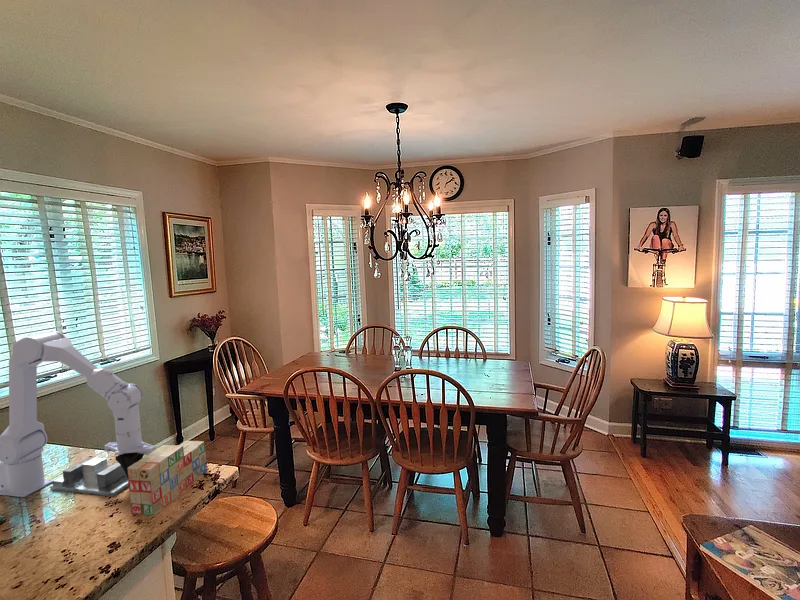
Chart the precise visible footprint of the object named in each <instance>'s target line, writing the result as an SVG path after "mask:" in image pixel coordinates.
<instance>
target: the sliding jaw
mask: <svg viewBox="0 0 800 600" xmlns="http://www.w3.org/2000/svg"><path fill="white" fill-rule="evenodd" d="M124 475H126V474H125V471H124V469H123V468H122V466H121V465H120V464H119V462H118V461H116V462H115V463H114V464H112V465H110V466H108V468H106V469H105V470H103V471H101V472H99V473H98V474H97V483H98V486H99V487H107V486H108V485H110V484H112V483H113V482H115V481H116V480H118V479H120V478H121V477H123V476H124Z"/></svg>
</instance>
